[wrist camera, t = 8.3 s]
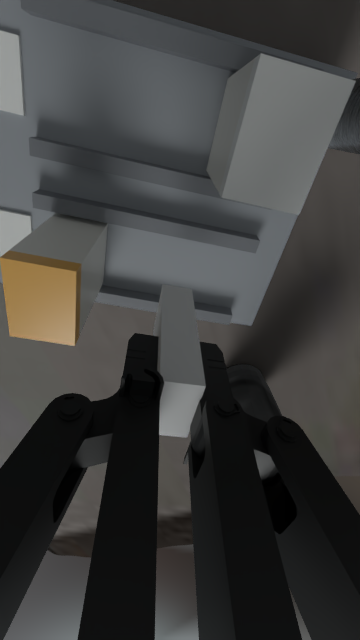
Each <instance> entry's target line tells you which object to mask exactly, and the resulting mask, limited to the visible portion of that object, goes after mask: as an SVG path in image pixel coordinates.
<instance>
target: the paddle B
mask: <svg viewBox="0 0 360 640" xmlns="http://www.w3.org/2000/svg"><path fill="white" fill-rule="evenodd" d="M355 82H356V81H354V80H351V79H347V78H344V77H340V76H337V75H334V74H330V73H327V72H323V71H320V70H316V69H313V68H310V67H306V66H303V65H299V64H296V63H292V62H289V61H286V60H282V59H279V58H275V57H272V56H269V55H265V54H262V53H261V54H260V55H258V56H257V57H256V58H254V59H253V60H252V61H250V62H249V63H248V64H246V65H245V66H244V67H242V68H241V69H240V70H238V71H237V72H236V73H234V74H233V75H232V76H231V77H229V78H228V79H227V84H226V88H225V92H224V96H223V101H222V105H221V109H220V113H219V118H218V122H217V126H216V130H215V135H214V139H213V143H212V147H211V152H210V156H209V160H208V164H207V169H206V171H207V172H208V174H209V176H210V178H211V180H212V181H213V183H214V185H215V187H216V189H217V190H218V192H219V194H220V196H221V197H222V198H225V199H230V200H234V201H239V202H243V203H247V204H252V205H256V206H261V207H265V208H270V209H274V210H278V211H283V212H287V213H292V214H296V215H299V214H300V212H301V210H302V207H303V205H304V203H305V200H306V198H307V195H308V193H309V191H310V188H311V186H312V184H313V181H314V179H315V177H316V174H317V172H318V169H319V167H320V165H321V162H322V160H323V158H324V155H325V153H326V151H327V148H328V146H329V143H330V141H331V139H332V136H333V134H334V132H335V129H336V127H337V125H338V122H339V120H340V117H341V115H342V113H343V110H344V108H345V106H346V103H347V101H348V99H349V96H350V94H351V91H352V89H353V87H354V84H355Z"/></svg>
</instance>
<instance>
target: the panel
mask: <svg viewBox="0 0 360 640" xmlns="http://www.w3.org/2000/svg"><path fill="white" fill-rule="evenodd" d="M261 53H262V54H265V55H269V56H272V57H275V58H279V59H282V60H286V61H289V62H292V63H296V64H299V65H303V66H306V67H310V68H313V69H316V70H320V71H323V72H327V73H330V74H334V75H337V76H340V77H344V78H347V79H351V80H352V79H356V76H357V74H358V73H356V72H353V71H349V70H346V69H343V68H339V67H336V66H333V65H329V64H326V63H322V62H319V61H316V60H312V59H309V58H306V57H302V56H299V55H295V54H292V53H289V52H285V51H282V50H279V49H275V48H272V47H269V46H265V45H262V44H258V43H255V42H252V41H248V40H245V39H242V38H238V37H235V36H231V35H228V34H225V33H221V32H218V31H215V30H211V29H208V28H204V27H201V26H198V25H194V24H191V23H188V22H184V21H181V20H177V19H174V18H171V17H167V16H164V15H161V14H157V13H154V12H150V11H147V10H144V9H140V8H137V7H134V6H130V5H127V4H123V3H120V2H117V1H113V0H0V257H1V256H2V255H4V254H5V253H6V252H7V251H9V250H10V249H11V248H12V247H14V246H15V245H16V244H17V243H19V242H20V241H21V240H23V239H24V238H25V237H26V236H28V235H29V234H30V233H31V232H33V231H34V230H35V229H36V228H38V227H39V226H40V225H41V224H43V223H44V222H45V221H47V220H48V219H49V218H50V217H52V216H53V215H54V214H55V213H60V214H65V215H70V216H75V217H79V218H84V219H89V220H94V221H99V222H104V223H108V227H107V240H106V253H105V266H104V279H103V284H102V286H101V288H100V291H99V293H98V295H97V297H96V300H95V302H98V303H104V304H110V305H115V306H121V307H127V308H133V309H139V310H145V311H150V312H156V313H157V309H158V304H159V299H160V294H161V289H162V284H165V285H170V286H176V287H182V288H188V289H192V293H193V300H194V307H195V314H196V319H197V320H203V321H209V322H214V323H220V324H226V325H229V324H230V322H231V323H236V324H242V325H248V326H252V323H253V321H254V319H255V316H256V314H257V311H258V309H259V307H260V304H261V302H262V300H263V297H264V295H265V292H266V290H267V288H268V285H269V283H270V281H271V278H272V276H273V273H274V271H275V269H276V266H277V264H278V262H279V259H280V257H281V254H282V252H283V250H284V247H285V245H286V242H287V240H288V238H289V235H290V233H291V231H292V228H293V226H294V223H295V221H296V219H297V216H298V215H296V214H292V213H287V212H283V211H278V210H274V209H270V208H265V207H261V206H256V205H252V204H247V203H243V202H239V201H234V200H230V199H225V198H222V197H221V196H220V194H219V192H218V190H217V189H216V187H215V185H214V183H213V181H212V180H211V178H210V176H209V174H208V172H207V171H206V169H207V164H208V160H209V156H210V152H211V147H212V143H213V139H214V135H215V130H216V126H217V122H218V118H219V113H220V109H221V105H222V101H223V96H224V92H225V88H226V84H227V79H228V78H229V77H231V76H232V75H233V74H234V73H236V72H237V71H238V70H240V69H241V68H242V67H244V66H245V65H246V64H248V63H249V62H250V61H252V60H253V59H254V58H256V57H257V56H258V55H260V54H261ZM0 283H3V279H2V272H1V264H0Z"/></svg>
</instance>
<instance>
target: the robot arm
mask: <svg viewBox="0 0 360 640" xmlns="http://www.w3.org/2000/svg"><path fill="white" fill-rule="evenodd" d="M224 362H225V361H224V357H223V353H222V351H221V350H220V349H219V347H218V346H217V345H216V344H211V343H204V342H199V335H198V328H197V321H196V314H195V307H194V300H193V293H192V289H188V288H182V287H176V286H170V285H165V284H162V289H161V294H160V299H159V304H158V309H157V314H156V319H155V324H154V331H153V336H151V335H144V334H137V333H135V334H134V335H133V336H132V337H131V338H130V339H129V342H128V348H127V354H126V360H125V366H124V371H123V376H122V378H121V385H120V389H119V390H118V391H117V393H115V394H114V395H113V396H111V397H109V398H107V399H103V400H99V401H92V402H91V401H90V400H89V399H88V398H87V397H85V396H83V395H81V394H75V393H70V394H64V395H61V396H59V397H57V398H55V399H54V400H53V401H52V402H51V403H50V404H49V405H48V406H47V408H46V409H45V410H44V412H43V413H42V414H41V416H40V417H39V418H38V419H37V421H36V422H35V423H34V425H33V426H32V427H31V429H30V430H29V431H28V433H27V434H26V435H25V437H24V438H23V439H22V441H21V442H20V443H19V445H18V446H17V447H16V449H15V450H14V451H13V453H12V454H11V455H10V457H9V458H8V459H7V461H6V462H5V463H4V465H3V466H2V467H1V468H0V640H3V639H4V637H5V635H6V633H7V631H8V628H9V627H10V624H11V622H12V620H13V618H14V616H15V614H16V612H17V610H18V608H19V606H20V604H21V602H22V600H23V598H24V596H25V594H26V592H27V590H28V588H29V586H30V584H31V582H32V580H33V578H34V576H35V574H36V572H37V570H38V568H39V566H40V563H41V561H42V559H43V557H44V555H45V553H46V551H47V549H48V547H49V545H50V543H51V541H52V539H53V537H54V535H55V533H56V531H57V529H58V527H59V525H60V523H61V521H62V519H63V517H64V515H65V513H66V511H67V509H68V507H69V505H70V503H71V501H72V499H73V496H74V494H75V492H76V490H77V488H78V486H79V484H80V482H81V480H82V478H83V476H84V474H85V472H86V470H87V468H88V467H89V466H93V465H97V464H101V463H106V462H108V463H107V469H106V475H105V481H104V487H103V493H102V499H101V505H100V511H99V516H98V522H97V528H96V534H95V540H94V546H93V552H92V558H91V564H90V570H89V576H88V582H87V587H86V593H85V599H84V605H83V612H82V617H81V623H80V629H79V635H78V640H154V639H155V637H154V636H155V594H156V550H157V505H158V461H159V435H166V436H176V437H186V438H187V437H188V434H189V431H191V442H190V445H189V447H188V450H187V452H186V455H185V458H184V463H183V464H187V461H188V460H189V477H190V494H191V511H192V528H193V545H194V561H195V579H196V596H197V612H198V628H199V640H302V638H301V634H300V630H299V626H298V622H297V618H296V614H295V610H294V606H293V602H292V599H291V594H290V591H289V588H290V590H291V592H292V595H293V597H294V599H295V602H296V604H297V606H298V609H299V611H300V613H301V616H302V618H303V620H304V623H305V625H306V627H307V629H308V632H309V634H310V637H311V639H312V640H360V515H359V513H358V512H357V510H356V509H355V507H354V506H353V504H352V503H351V501H350V500H349V498H348V497H347V495H346V494H345V492H344V491H343V489H342V488H341V486H340V485H339V483H338V482H337V481H336V479H335V477H334V476H333V474H332V473H331V472H330V470H329V469H328V467H327V466H326V464H325V463H324V461H323V460H322V458H321V457H320V455H319V454H318V452H317V451H316V449H315V448H314V446H313V445H312V443H311V442H310V440H309V439H308V437H307V436H306V434H305V433H304V431H303V430H302V429H301V428H300V427H299V425H298V424H297V423H295V422H294V421H292V420H291V419H289V418H286V417H284V416H274V417H271V418H270V419H269V420H268V421H267V422H266V421H263V420H261V419H258V418H255V417H253V416H251V415H249V414H247V413H245V412H244V411H243V409H242V407H241V405H240V403H239V402H238V401H237V400H236V399H234V398H233V395H232V391H231V387H230V382H229V378H228V374H227V370H226V365H225V363H224ZM288 585H289V587H288Z"/></svg>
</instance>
